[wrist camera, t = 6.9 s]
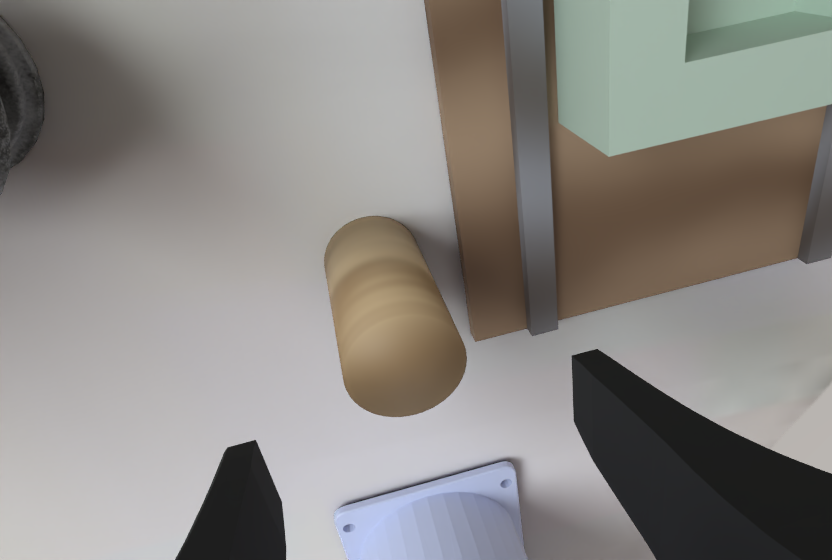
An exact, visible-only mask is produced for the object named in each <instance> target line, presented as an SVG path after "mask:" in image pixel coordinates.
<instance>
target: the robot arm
mask: <svg viewBox="0 0 832 560" xmlns="http://www.w3.org/2000/svg"><path fill="white" fill-rule="evenodd" d="M572 378H573V408H574V422H575V425H576V427H577V429H578V431H579V433H580V435H581V437H582V439H583V441H584V444H585V446H586V448H587V450H588V452H589V453H590V455H591V457H592V459H593V461H594V463H595V464H596V466H597V468H598V469H599V471H600V472H601V474H602V475H603V477H604V478H605V480H606V482H607V483H608V485H609V486H610V488H611V489H612V491H613V492H614V494H615V495H616V497H617V499H618V500H619V502H620V503H621V505H622V506H623V508H624V509H625V511H626V512H627V514H628V515H629V517H630V518H631V520H632V521H633V523H634V524H635V526H636V528H637V529H638V531H639V532H640V534H641V535H642V537H643V538H644V540H645V541H646V543H647V544H648V546H649V548H650V549H651V551H652V553H653V554H654V556H655V558H656V559H657V560H832V474H831V473H828V472H825V471H822V470H820V469H817V468H814V467H812V466H809V465H807V464H804V463H802V462H799V461H796V460H794V459H791V458H789V457H786V456H784V455H782V454H779V453H777V452H775V451H772V450H770V449H768V448H765V447H763V446H761V445H759V444H757V443H755V442H753V441H750V440H748V439H746V438H744V437H742V436H740V435H738V434H736V433H734V432H732V431H730V430H728V429H726V428H724V427H722V426H720V425H718V424H716V423H714V422H713V421H711V420H709V419H707V418H705V417H703V416H702V415H700V414H698V413H696V412H694V411H693V410H691V409H689V408H688V407H686V406H684V405H682V404H681V403H679V402H678V401H676V400H674V399H673V398H671V397H670V396H668V395H666V394H665V393H663V392H661V391H660V390H658V389H657V388H655V387H654V386H652V385H651V384H649V383H647V382H646V381H644V380H643V379H641V378H640V377H638V376H637V375H635V374H634V373H632V372H631V371H629V370H628V369H626V368H625V367H623V366H622V365H620V364H619V363H618V362H616V361H615V360H613V359H612V358H610V357H609V356H607V355H606V354H604V353H603V352H601V351H599V350H598V349H595V350H592V351H588V352H584V353H580V354H577V355H573V356H572ZM505 479H506V480H505ZM503 480H504V481H503ZM334 520H335V525H336V528H337V530H338V533H339V536H340V539H341V541H342V544H343V547H344V550H345V553H346V555H347V558H348V560H528V558H527V555H526V553H525V550H524V542H523V533H522V524H521V514H520V505H519V496H518V487H517V477H516V471H515V469H514V466H513V464H512V463H510V462H507V461H504V462H499V463H495V464H492V465H488V466H485V467H481V468H478V469H474V470H470V471H467V472H463V473H460V474H456V475H453V476H449V477H445V478H442V479H438V480H435V481H431V482H428V483H424V484H420V485H417V486H413V487H410V488H406V489H403V490H399V491H396V492H392V493H388V494H385V495H381V496H378V497H374V498H371V499H367V500H363V501H360V502H356V503H353V504H349V505H346V506H342V507H340V508H339V509H337V510H336V511H335V513H334ZM347 524H349V525H347ZM175 560H286V541H285V529H284V519H283V509H282V502H281V499H280V497H279V494H278V492H277V490H276V487H275V485H274V482H273V480H272V478H271V475H270V473H269V470H268V468H267V466H266V463H265V461H264V458H263V456H262V454H261V451H260V449H259V447H258V444H257V442H256V440H254V441H250V442H246V443H243V444H239V445H235V446H231V447H228V448H227V449H226V451H225V452H224V454H223V457H222V459H221V462H220V464H219V467H218V469H217V472H216V474H215V477H214V479H213V481H212V484H211V486H210V488H209V491H208V493H207V495H206V498H205V500H204V502H203V504H202V507H201V509H200V511H199V513H198V515H197V517H196V519H195V521H194V524H193V526H192V528H191V530H190V532H189V534H188V536H187V538H186V540H185V542H184V544H183V546H182V548H181V550H180V552H179V553H178V555H177V557H176V559H175Z"/></svg>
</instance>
